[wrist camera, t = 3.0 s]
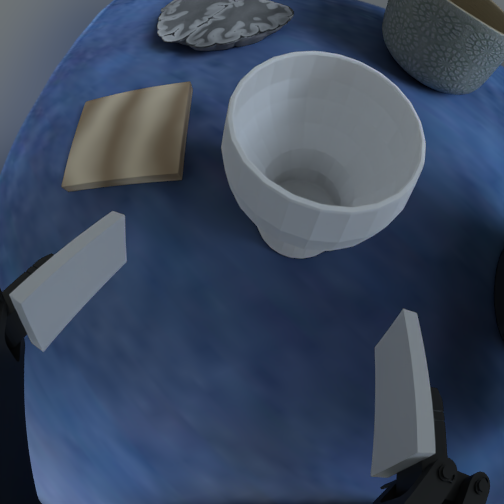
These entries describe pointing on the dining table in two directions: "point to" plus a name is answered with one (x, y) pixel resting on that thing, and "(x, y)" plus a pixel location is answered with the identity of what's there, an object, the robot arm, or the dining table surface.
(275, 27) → the brain slice
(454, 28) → the planter
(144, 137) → the oak board
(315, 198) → the cup
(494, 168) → the dining table surface
